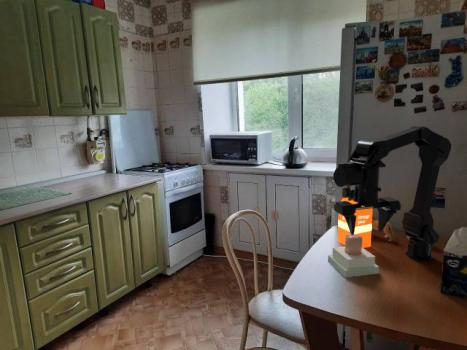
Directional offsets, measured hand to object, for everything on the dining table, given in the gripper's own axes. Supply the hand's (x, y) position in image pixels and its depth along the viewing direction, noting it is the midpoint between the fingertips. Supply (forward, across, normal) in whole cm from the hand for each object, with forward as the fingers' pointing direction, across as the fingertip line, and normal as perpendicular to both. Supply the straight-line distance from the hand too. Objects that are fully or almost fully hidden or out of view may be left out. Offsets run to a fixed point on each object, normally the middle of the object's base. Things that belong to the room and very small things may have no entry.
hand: (366, 233), depth 102 cm
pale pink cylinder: (+6, +3, -2) cm, 7 cm away
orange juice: (+12, -7, -18) cm, 23 cm away
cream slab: (+10, +3, -2) cm, 10 cm away
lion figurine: (+12, -18, -22) cm, 31 cm away
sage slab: (+12, +3, -2) cm, 13 cm away
